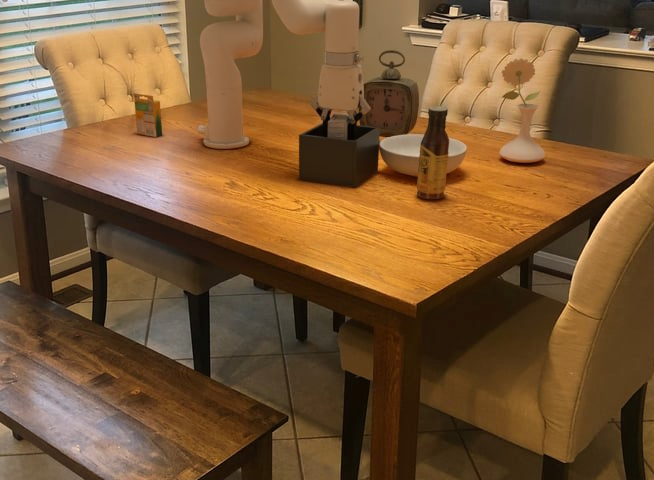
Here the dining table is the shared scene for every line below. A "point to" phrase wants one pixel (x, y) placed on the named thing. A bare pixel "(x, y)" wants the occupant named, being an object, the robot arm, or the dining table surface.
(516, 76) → the flower in vase
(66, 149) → the dining table surface
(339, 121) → the medicine box
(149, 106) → the crayon box
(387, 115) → the tabletop clock
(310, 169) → the open-top storage bin
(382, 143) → the serving bowl
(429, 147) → the sauce bottle
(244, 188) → the dining table surface
